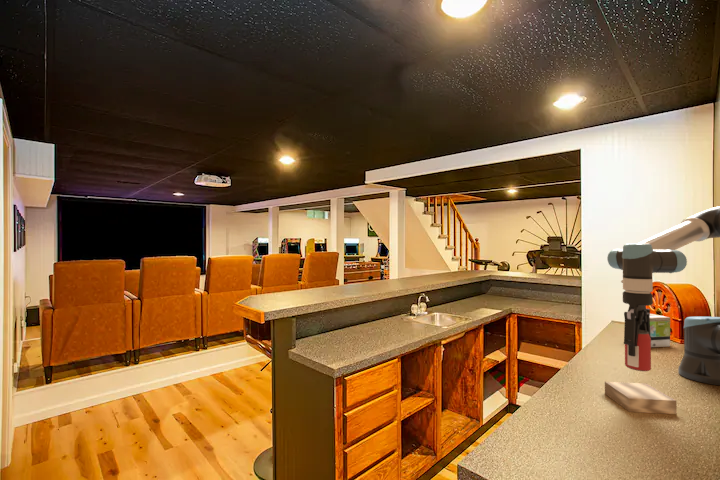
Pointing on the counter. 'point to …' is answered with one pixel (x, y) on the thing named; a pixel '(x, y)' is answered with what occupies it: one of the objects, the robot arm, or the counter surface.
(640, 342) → the beer can
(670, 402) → the maple base
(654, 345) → the tea box
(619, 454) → the counter surface
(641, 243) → the robot arm
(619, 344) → the counter surface
